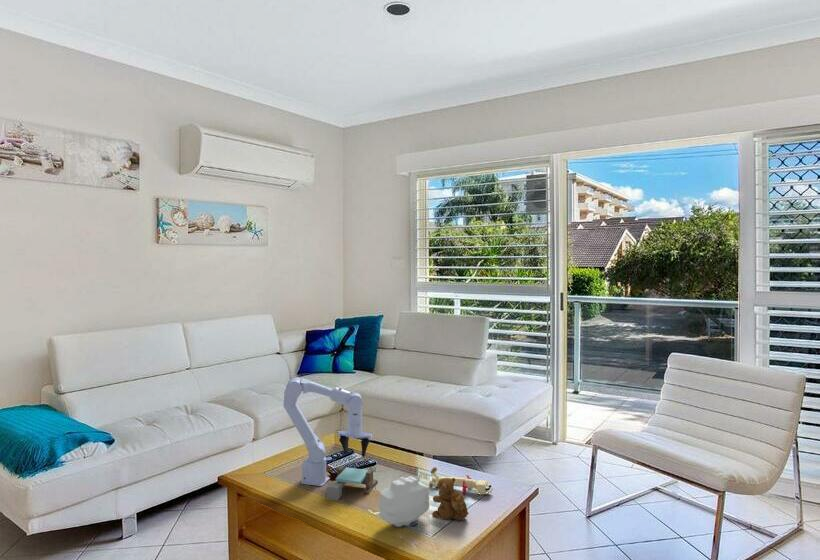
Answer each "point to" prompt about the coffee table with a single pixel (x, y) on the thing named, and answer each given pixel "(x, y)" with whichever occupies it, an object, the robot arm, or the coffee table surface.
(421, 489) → the grey rounded lump
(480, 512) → the coffee table surface
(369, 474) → the trapdoor frame
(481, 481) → the cat figure
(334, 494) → the stone
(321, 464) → the robot arm
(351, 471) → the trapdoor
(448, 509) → the stuffed squirrel
